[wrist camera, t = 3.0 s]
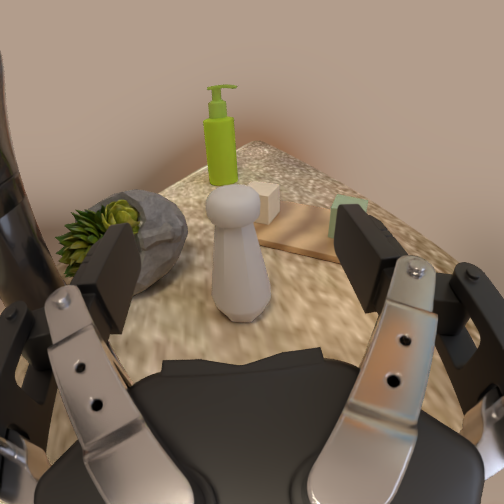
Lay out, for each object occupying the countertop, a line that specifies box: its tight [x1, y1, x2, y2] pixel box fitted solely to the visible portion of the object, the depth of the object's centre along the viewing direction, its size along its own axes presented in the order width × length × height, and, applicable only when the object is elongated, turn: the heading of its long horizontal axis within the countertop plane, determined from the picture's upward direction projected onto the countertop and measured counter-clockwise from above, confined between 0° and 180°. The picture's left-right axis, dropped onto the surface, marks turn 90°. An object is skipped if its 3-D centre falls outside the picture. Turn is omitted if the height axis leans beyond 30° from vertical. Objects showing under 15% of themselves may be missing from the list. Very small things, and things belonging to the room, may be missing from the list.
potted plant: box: [55, 190, 188, 296], centre depth 29 cm, size 12×13×15 cm
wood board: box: [253, 200, 341, 264], centre depth 41 cm, size 18×12×1 cm, turn 65°
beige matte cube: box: [246, 181, 280, 225], centre depth 42 cm, size 4×4×4 cm
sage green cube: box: [328, 194, 368, 238], centre depth 37 cm, size 4×4×4 cm
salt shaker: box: [206, 184, 271, 322], centre depth 25 cm, size 6×6×13 cm
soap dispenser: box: [203, 85, 238, 186], centre depth 52 cm, size 6×7×20 cm
